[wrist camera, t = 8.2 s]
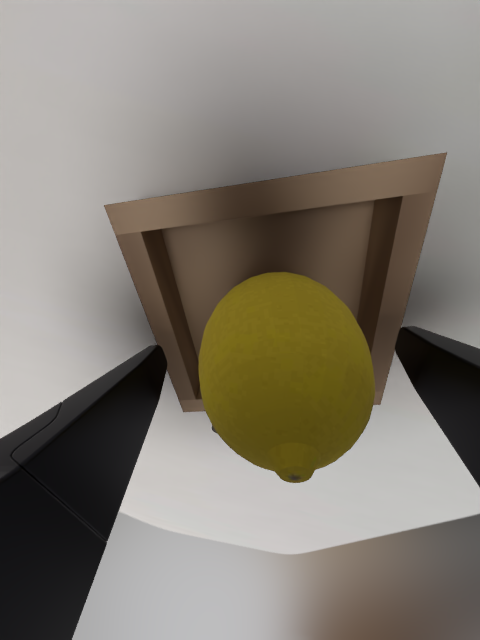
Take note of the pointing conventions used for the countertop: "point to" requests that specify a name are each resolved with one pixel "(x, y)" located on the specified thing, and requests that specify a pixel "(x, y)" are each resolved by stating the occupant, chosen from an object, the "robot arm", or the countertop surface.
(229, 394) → the lemon
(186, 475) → the countertop surface
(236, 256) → the tray
